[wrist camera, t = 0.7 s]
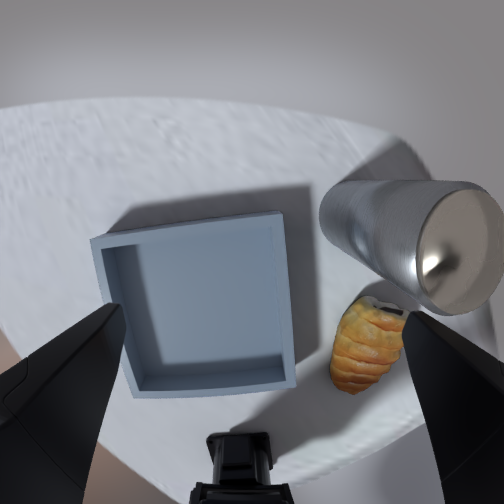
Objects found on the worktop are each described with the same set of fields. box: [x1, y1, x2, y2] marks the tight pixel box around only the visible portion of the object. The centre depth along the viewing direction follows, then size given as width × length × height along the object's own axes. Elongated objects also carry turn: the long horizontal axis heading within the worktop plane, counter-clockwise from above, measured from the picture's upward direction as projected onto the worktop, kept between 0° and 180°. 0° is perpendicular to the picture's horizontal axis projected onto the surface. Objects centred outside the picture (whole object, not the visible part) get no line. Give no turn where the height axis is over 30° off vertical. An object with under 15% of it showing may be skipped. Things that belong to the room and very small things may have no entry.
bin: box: [90, 210, 296, 398], centre depth 24 cm, size 14×14×3 cm
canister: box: [319, 180, 504, 316], centre depth 17 cm, size 6×6×15 cm
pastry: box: [330, 296, 410, 395], centre depth 25 cm, size 9×7×4 cm
